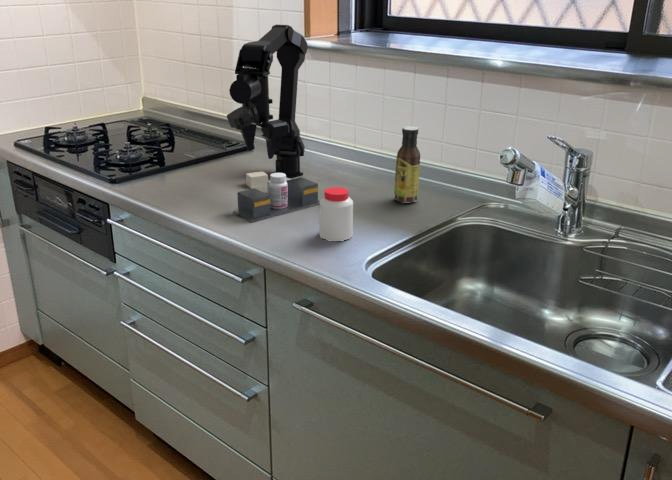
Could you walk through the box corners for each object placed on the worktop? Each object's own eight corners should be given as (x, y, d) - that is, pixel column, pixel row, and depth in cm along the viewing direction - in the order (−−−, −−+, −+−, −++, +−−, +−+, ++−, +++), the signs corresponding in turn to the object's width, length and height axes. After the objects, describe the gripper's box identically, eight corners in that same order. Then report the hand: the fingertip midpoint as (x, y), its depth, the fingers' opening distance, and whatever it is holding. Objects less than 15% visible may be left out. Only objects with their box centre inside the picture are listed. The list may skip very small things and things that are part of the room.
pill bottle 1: (285, 210, 171) (284, 178, 167) (266, 208, 171) (266, 176, 168) (290, 203, 175) (289, 172, 172) (272, 202, 176) (271, 171, 172)
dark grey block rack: (303, 195, 183) (303, 175, 181) (322, 203, 177) (322, 183, 175) (233, 213, 170) (232, 192, 168) (251, 222, 164) (250, 200, 162)
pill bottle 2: (318, 229, 160) (318, 185, 156) (350, 229, 161) (351, 185, 157) (320, 242, 153) (320, 196, 149) (354, 241, 154) (355, 196, 150)
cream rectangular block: (263, 183, 193) (262, 171, 192) (268, 187, 190) (267, 175, 188) (246, 185, 191) (246, 173, 190) (251, 189, 188) (251, 177, 186)
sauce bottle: (390, 198, 182) (393, 125, 174) (411, 195, 184) (415, 123, 176) (400, 206, 176) (403, 131, 168) (421, 203, 178) (426, 129, 170)
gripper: (210, 93, 173) (214, 152, 179) (252, 106, 160) (255, 169, 166) (246, 88, 179) (249, 144, 186) (289, 99, 167) (291, 160, 173)
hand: (260, 154), depth 178 cm, fingers open, 9 cm apart
